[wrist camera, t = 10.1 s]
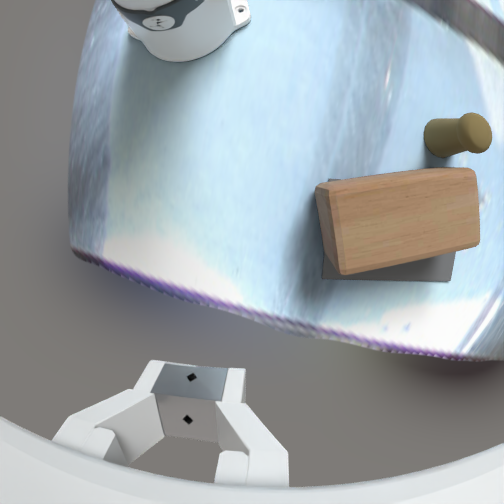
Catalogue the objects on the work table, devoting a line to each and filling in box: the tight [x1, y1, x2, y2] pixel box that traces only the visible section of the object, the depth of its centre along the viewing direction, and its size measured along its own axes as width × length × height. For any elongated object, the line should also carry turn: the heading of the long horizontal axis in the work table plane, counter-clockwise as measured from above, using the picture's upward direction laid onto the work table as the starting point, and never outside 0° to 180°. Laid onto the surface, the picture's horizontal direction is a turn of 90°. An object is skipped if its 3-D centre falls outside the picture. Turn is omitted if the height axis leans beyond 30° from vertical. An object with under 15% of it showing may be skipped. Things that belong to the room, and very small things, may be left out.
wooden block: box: [315, 167, 480, 275], centre depth 35 cm, size 10×10×20 cm
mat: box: [322, 179, 456, 281], centre depth 41 cm, size 14×22×1 cm, turn 89°
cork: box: [424, 113, 492, 158], centre depth 32 cm, size 6×6×11 cm
